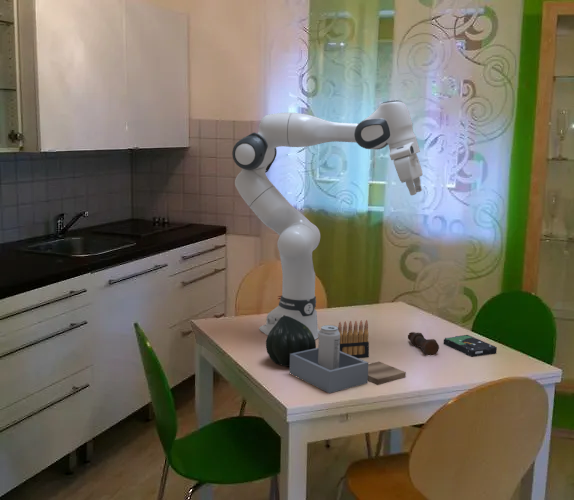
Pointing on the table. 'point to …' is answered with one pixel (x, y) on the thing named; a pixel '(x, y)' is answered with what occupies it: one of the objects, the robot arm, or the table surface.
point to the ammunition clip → (354, 340)
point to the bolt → (424, 343)
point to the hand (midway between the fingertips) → (416, 193)
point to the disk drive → (470, 345)
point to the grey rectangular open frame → (329, 371)
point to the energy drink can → (329, 347)
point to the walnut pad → (383, 373)
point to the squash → (288, 340)
